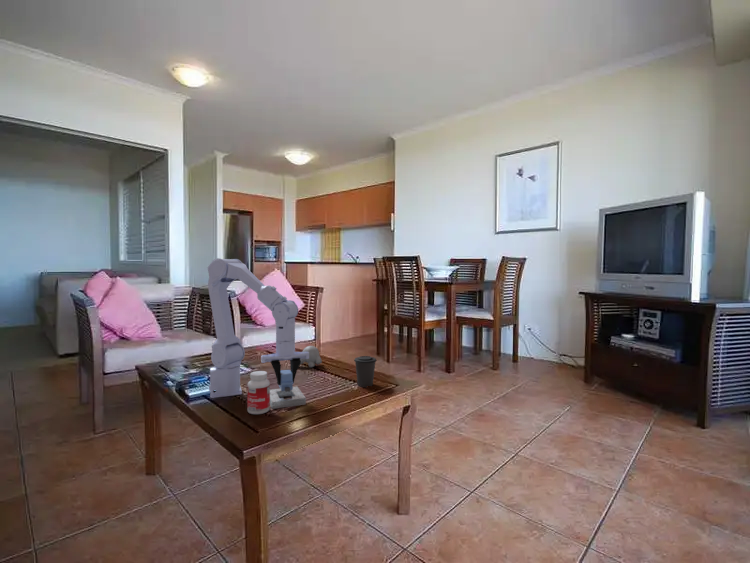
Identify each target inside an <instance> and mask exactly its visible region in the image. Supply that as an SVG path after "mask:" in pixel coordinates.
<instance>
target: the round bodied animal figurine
mask: <svg viewBox="0 0 750 563" xmlns="http://www.w3.org/2000/svg"><path fill="white" fill-rule="evenodd" d="M302 352H309V359H300V361H301V364H300V365H303V364H304V363H308V364H307V365H308V367H309V368H310V369H312V368H314V367H316V365H317V366H318V365H320V364H322V363H323V360H322V358H321V355H320V351H319V349H318V348H317V347H316V346H314V345H307V346H305V347H304V348H303V350H302Z"/></svg>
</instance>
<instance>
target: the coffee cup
mask: <svg viewBox="0 0 750 563" xmlns="http://www.w3.org/2000/svg"><path fill="white" fill-rule="evenodd" d="M353 360H354V361H353V362H354V363H355V369H356V370H355V372H356V381H357V382H356V383H357V386H358V387H359V388H368V387H367V386H371V387H373V385H374V377H375V368H376V362H377V358H376V357H374V356H373V357H372V356H371V355H369V356H368V355H363V356H362V355H361V356H357V357H355V358H354V359H353Z"/></svg>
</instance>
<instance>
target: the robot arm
mask: <svg viewBox="0 0 750 563" xmlns="http://www.w3.org/2000/svg"><path fill="white" fill-rule="evenodd" d="M207 273H208V282H207V288H208V289H207V290H208V294H209V299H210V300H209V301H210V307H211V312H212V319H213V324H214V331H215V336H216V339H215V340H214V342H213V343H212V345H211V356H210V360H211V363H212V364H213V366H214V367H213V366H212V367H210V368H209V373H210V374H209V377H210V378H209V380H210V381H209V383H210V384H209V385H208V390H209V394H210V395H209V396H210V398H211V399H215V398H223V397H232V396H240V395H242V394H243V390H242V387H241V364H242V360H244V358H245V354H246V353H245V352H246V351H245V348H244V347H243V344H242V341H241V339H240V338H239V337H238V336H237V335H236V334H235V330H234V324H233V318H232V312H231V307H230V301H229V295H228V288H229V286H230V285H231V284H232V283H233V282H234V281H236V280H239V281H240V282H242V283H243V284H244V285H246V286H247V287H248V288H249V289H250V290H252V291H253V292H254V293H256V295H257V296H256V297H257V299H258V300H259V302H260V303H262V304H263V305H264V306H265V307H266V308H267V309H268V310H269V311H271V314H272V318H273V319H274V321H275V322H274V324H275V352H274V353H270V354H263V355H261V356H260V362H261V363H262V364H265V363H270V364H271V366H272V368H273V371H274V374H275V378H276V384H277V385H278V386H279V385H281V377H280V371H281V370H282V369H281V368H282V364H281V361H289V364H290V365H289V366H290V371H291V372H292V374H293V384H294V383H295V379H296V375H297V371H298V369H299V368H300V366H301V365H302V364H301V361H300V359H309V352H303V351H296V339H295V338H296V330H295V329H296V317H297V316H298V313H299V307H298V306H299V305H297V303H296V302H295V301H294V300H288V298H287V297H286V296H283V295H282V294H281V293H280V292H279V291H277V287H276V286H274V285H273V286H272V285H265V284H264V283H263V282H262V281H261V280H260V279H259V278H257V276H256V275H255V274H254V273H253V272H251V270H250V269H248V267H247V265H246V264H245V263H243V262H242V261H241V260H240V259H238V258H231V259H230V258H219V257H217V258H215V259H213V260H211V262H210V264H208V266H207ZM214 390H216V391H214Z"/></svg>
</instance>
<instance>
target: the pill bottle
mask: <svg viewBox="0 0 750 563" xmlns="http://www.w3.org/2000/svg"><path fill="white" fill-rule="evenodd" d="M249 378H250V380H249V381H248V382H247V392H246V393H247V402H246V404H247V405H246V406H247V409H246V410H247V412H248V413H249V414H251V415H262V414H265V413H267V412H269V411H270V408H271V406H270V390H271V388H270V387H271V382H270V380H269V379H267V378H268V372H267V371H265V370H257V371H252V372H250V373H249Z"/></svg>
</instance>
